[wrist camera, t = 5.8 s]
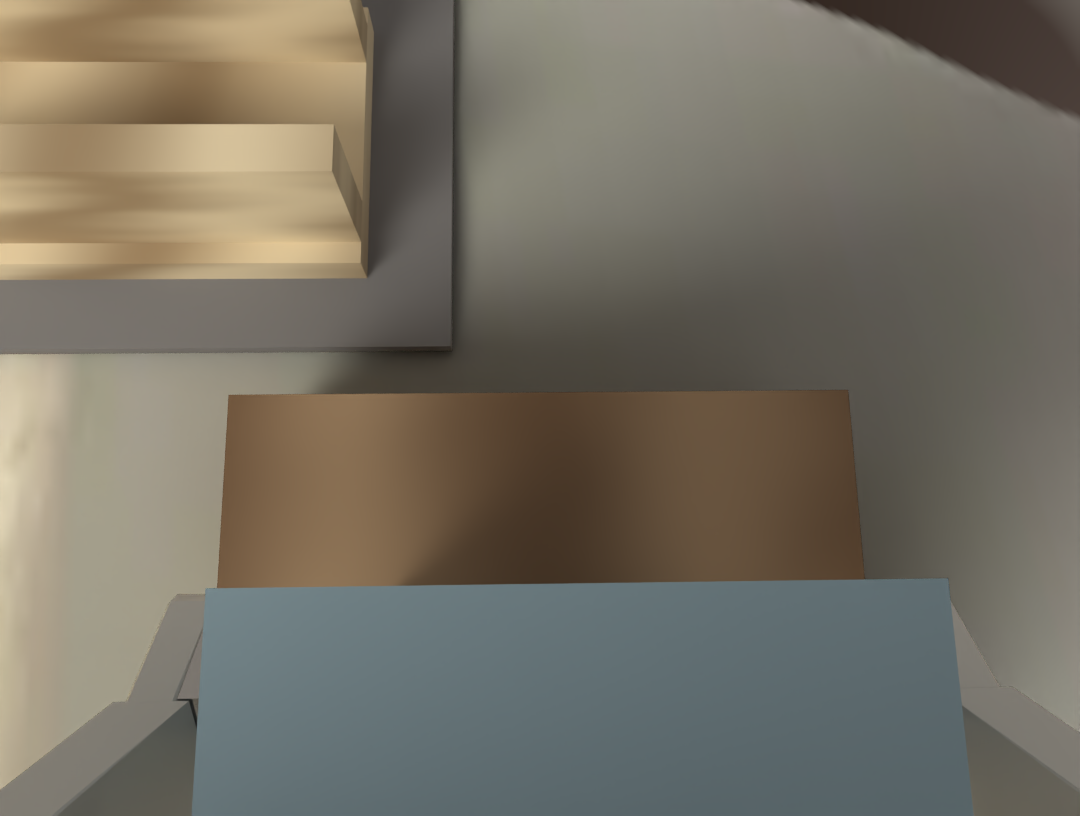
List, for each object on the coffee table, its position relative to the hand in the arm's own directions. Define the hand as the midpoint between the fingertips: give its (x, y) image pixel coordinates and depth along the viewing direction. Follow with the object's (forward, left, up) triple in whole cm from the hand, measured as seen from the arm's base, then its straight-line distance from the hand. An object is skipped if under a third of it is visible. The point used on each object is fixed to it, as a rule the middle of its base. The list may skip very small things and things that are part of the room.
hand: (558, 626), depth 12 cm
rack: (-9, +11, -10) cm, 18 cm away
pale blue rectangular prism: (0, -1, -6) cm, 6 cm away
